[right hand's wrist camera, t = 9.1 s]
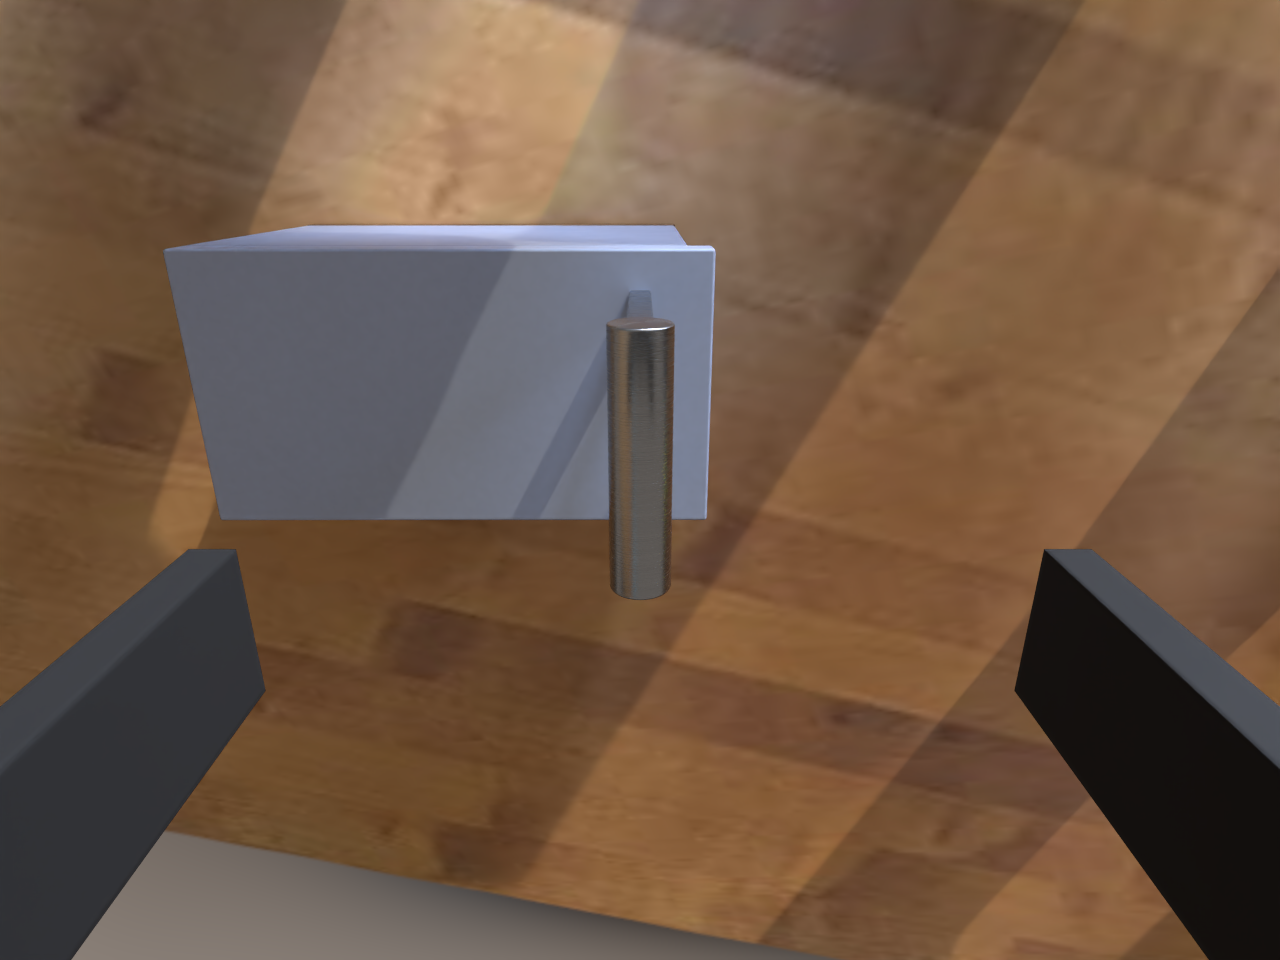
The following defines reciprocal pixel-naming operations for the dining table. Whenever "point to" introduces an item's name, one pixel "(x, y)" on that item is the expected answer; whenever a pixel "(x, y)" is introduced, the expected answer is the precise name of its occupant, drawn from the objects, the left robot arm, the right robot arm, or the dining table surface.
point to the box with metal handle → (457, 385)
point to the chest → (463, 235)
